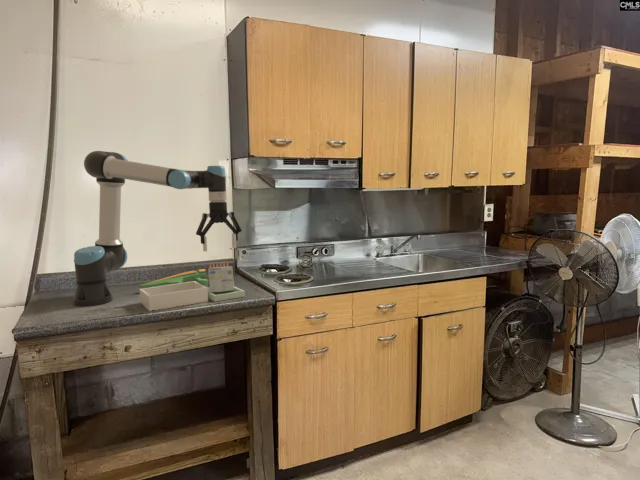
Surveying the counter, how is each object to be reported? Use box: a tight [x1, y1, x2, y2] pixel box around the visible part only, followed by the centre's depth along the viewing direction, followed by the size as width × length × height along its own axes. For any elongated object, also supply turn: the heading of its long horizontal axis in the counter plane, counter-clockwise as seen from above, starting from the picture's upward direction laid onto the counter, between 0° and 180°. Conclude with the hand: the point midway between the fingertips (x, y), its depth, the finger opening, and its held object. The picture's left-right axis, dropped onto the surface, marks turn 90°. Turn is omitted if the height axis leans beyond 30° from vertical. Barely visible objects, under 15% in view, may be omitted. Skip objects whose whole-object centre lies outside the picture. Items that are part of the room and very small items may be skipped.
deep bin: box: [138, 281, 209, 312], centre depth 190 cm, size 24×16×6 cm, turn 124°
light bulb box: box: [207, 265, 235, 292], centre depth 201 cm, size 11×7×11 cm, turn 107°
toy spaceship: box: [138, 268, 209, 289], centre depth 216 cm, size 32×10×7 cm, turn 128°
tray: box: [206, 285, 246, 302], centre depth 201 cm, size 14×17×2 cm
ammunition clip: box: [207, 261, 229, 287], centre depth 216 cm, size 11×2×12 cm, turn 126°
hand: (220, 249), depth 198 cm, fingers open, 13 cm apart
